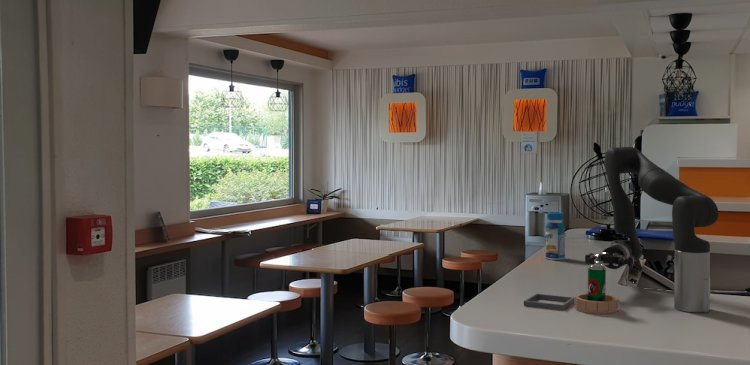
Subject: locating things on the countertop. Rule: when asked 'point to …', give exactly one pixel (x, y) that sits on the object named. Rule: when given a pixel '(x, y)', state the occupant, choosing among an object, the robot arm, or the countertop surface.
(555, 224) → the beverage bottle
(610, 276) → the countertop surface
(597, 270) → the soda can
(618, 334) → the countertop surface
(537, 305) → the tray
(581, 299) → the bowl
